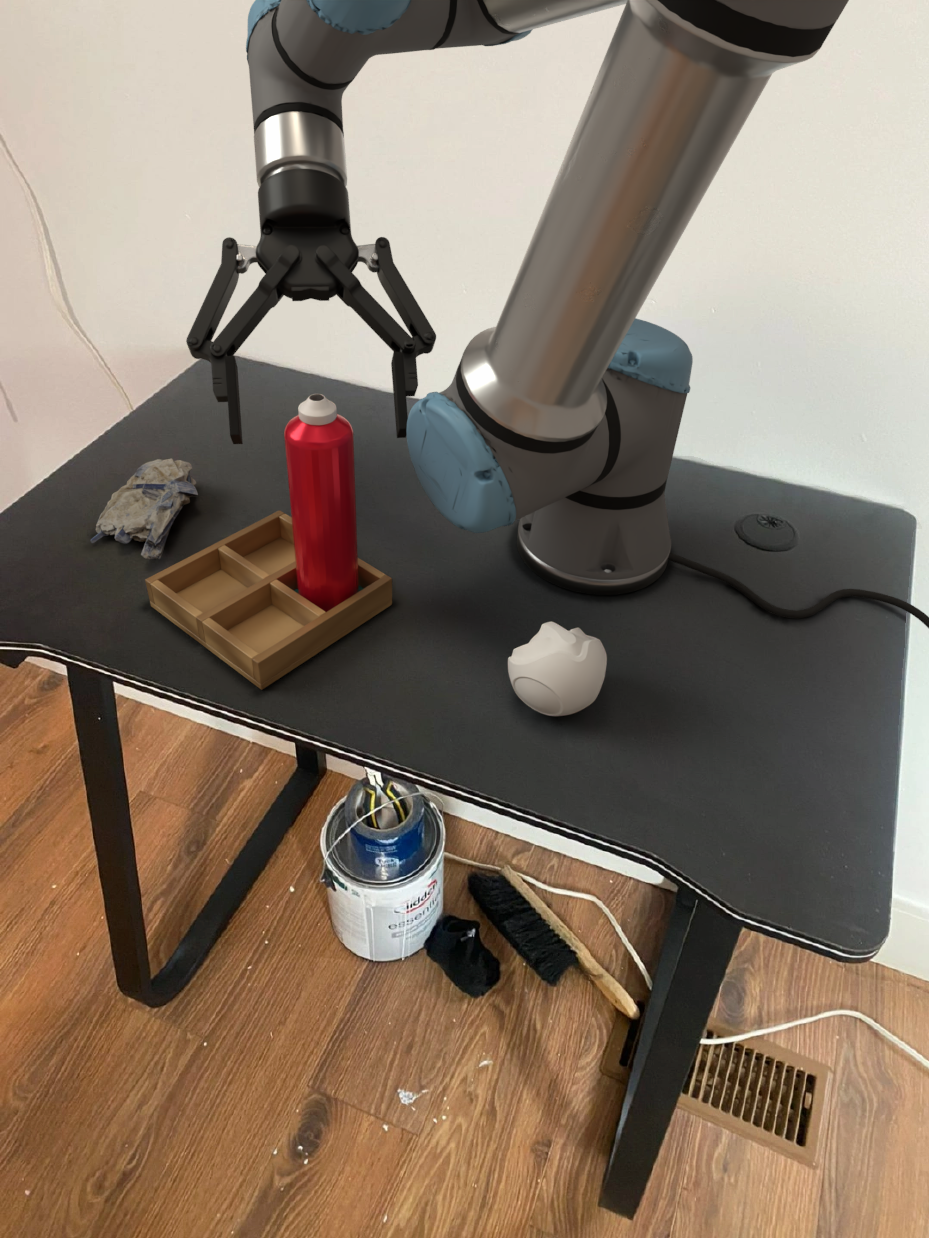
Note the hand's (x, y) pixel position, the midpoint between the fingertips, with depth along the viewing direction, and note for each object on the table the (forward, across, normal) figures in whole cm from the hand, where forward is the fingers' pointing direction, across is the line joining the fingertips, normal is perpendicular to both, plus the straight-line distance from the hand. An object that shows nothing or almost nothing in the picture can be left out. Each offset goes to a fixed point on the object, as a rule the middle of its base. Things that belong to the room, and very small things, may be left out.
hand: (320, 437), depth 76 cm
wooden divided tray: (+13, +5, -10) cm, 17 cm away
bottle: (+13, 0, -9) cm, 15 cm away
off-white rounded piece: (+23, -18, +1) cm, 29 cm away
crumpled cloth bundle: (+3, +17, -20) cm, 26 cm away
